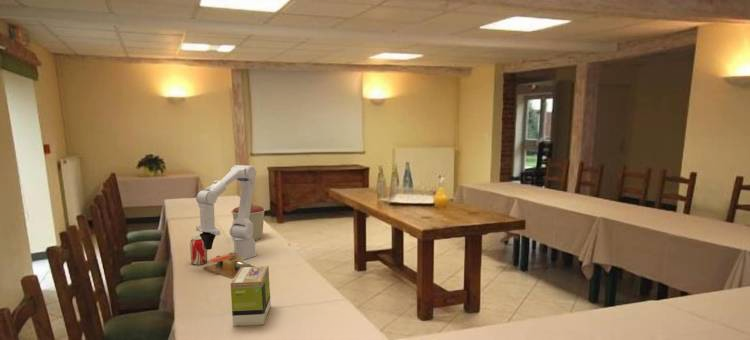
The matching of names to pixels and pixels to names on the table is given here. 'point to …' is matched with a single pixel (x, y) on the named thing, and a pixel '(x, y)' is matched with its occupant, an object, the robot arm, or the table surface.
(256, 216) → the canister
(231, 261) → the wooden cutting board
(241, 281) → the tea box
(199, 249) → the soda can
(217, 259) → the lever
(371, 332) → the table surface
